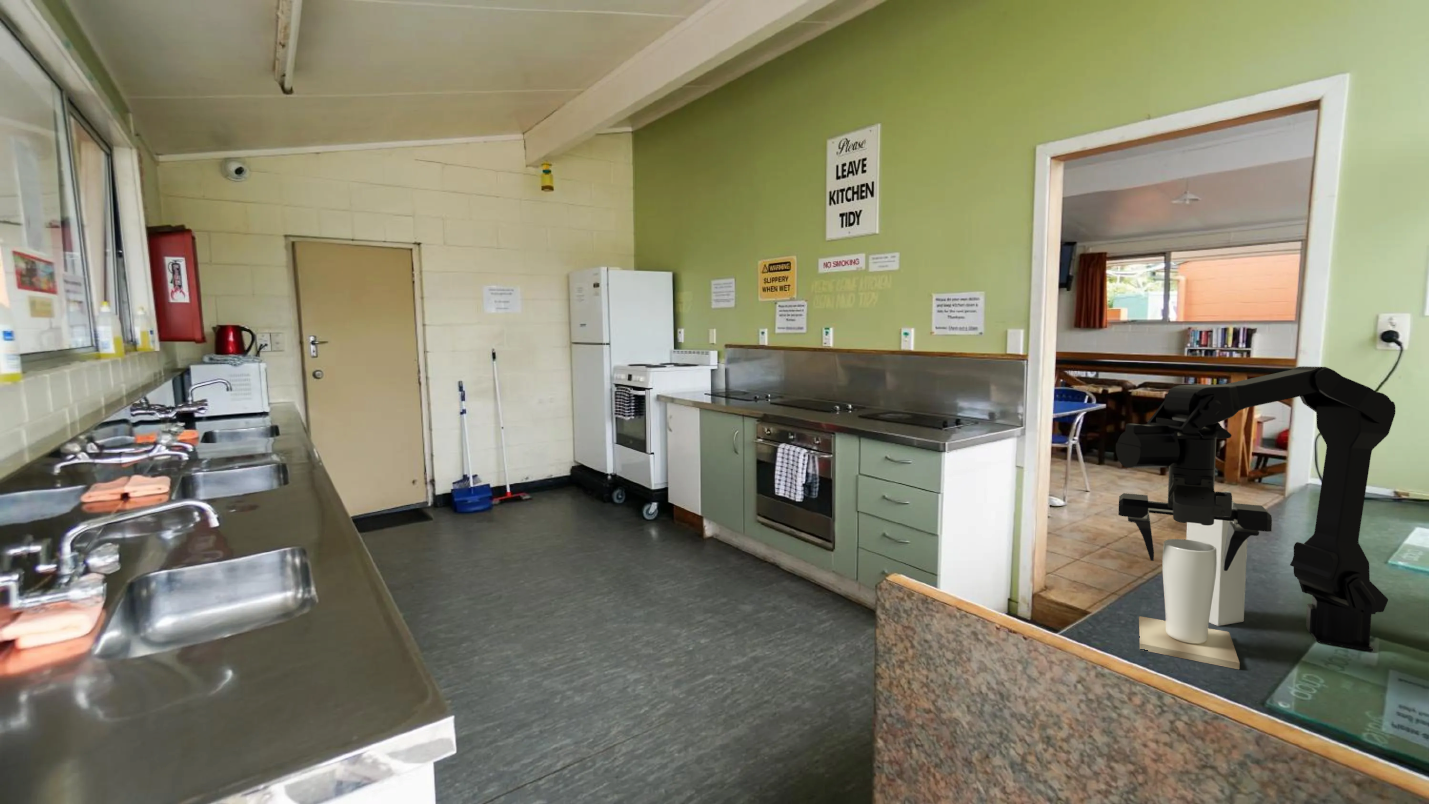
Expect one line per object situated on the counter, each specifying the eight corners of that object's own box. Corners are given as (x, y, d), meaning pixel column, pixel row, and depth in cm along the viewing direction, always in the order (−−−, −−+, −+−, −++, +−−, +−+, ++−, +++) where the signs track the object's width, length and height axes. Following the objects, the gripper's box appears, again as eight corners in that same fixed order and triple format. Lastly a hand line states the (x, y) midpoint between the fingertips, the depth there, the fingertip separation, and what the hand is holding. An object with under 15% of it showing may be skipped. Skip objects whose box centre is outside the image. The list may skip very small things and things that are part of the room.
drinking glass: (1222, 649, 96) (1227, 552, 95) (1172, 645, 97) (1176, 550, 96) (1198, 629, 103) (1202, 539, 101) (1151, 627, 104) (1154, 537, 103)
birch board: (1228, 637, 102) (1228, 631, 102) (1239, 669, 92) (1239, 662, 92) (1139, 621, 108) (1139, 616, 108) (1139, 649, 98) (1140, 643, 98)
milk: (1244, 622, 108) (1251, 494, 106) (1217, 626, 106) (1224, 497, 104) (1207, 608, 114) (1213, 487, 112) (1181, 612, 112) (1188, 489, 110)
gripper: (1119, 469, 96) (1116, 569, 98) (1281, 481, 86) (1276, 593, 87) (1120, 459, 106) (1117, 550, 107) (1267, 468, 95) (1262, 569, 97)
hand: (1187, 565), depth 99 cm, fingers open, 9 cm apart
